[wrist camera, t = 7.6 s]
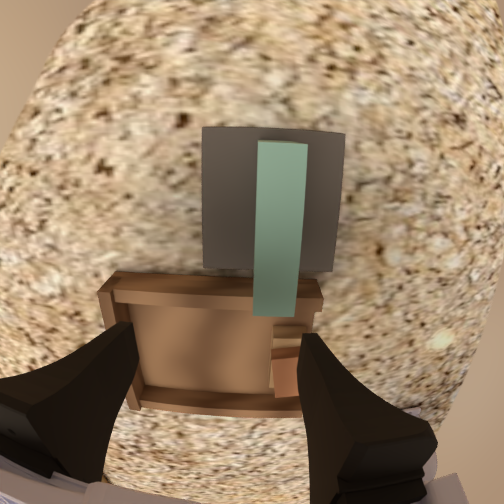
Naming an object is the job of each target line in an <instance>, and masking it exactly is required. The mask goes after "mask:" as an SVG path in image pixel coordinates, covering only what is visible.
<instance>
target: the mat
mask: <svg viewBox="0 0 504 504" xmlns="http://www.w3.org/2000/svg"><path fill="white" fill-rule="evenodd" d="M258 140H276V141H292V142H297V143H303V144H308V151H307V170H306V186H305V201H304V215H303V228H302V241H301V253H300V264H299V271H314V272H332V269H333V261H334V254H335V246H336V238H337V229H338V220H339V210H340V200H341V189H342V177H343V164H344V149H345V134H341V133H332V132H321V131H310V130H296V129H279V128H254V127H202V236H203V268H216V269H245V270H254V247H255V215H256V183H257V150H258Z"/></svg>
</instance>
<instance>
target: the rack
mask: <svg viewBox="0 0 504 504" xmlns="http://www.w3.org/2000/svg"><path fill="white" fill-rule="evenodd" d="M253 282H254V278H247V277H219V276H194V275H173V274H152V273H134V272H116V271H115V272H114V274H113V275H112V276H111V277H110V278H109V279H108V280H107V281H106V282H105V283H104V285H103V286H102V287H101V288H100V289H99V290H98V291H97V293H98V298H99V303H100V307H101V312H102V316H103V320H104V325H105V329H106V330H107V329H109V328H110V327H112V326H113V325H114V324H116V323H118V322H119V321H125V322H133V327H134V332H135V337H136V342H137V347H138V352H139V357H140V360H139V363H138V367H137V370H136V373H135V377H134V379H133V381H132V384H131V386H130V388H129V390H128V393H127V395H126V400H127V403H128V406H129V409H131V410H137V411H140V410H141V407H144V408H150V409H157V410H164V411H172V412H181V413H190V414H200V415H212V416H227V417H250V418H301V417H302V408H301V403H300V398H299V396H291V397H280V398H275V390H274V388H269V363H270V351H271V338H272V326H306V329H307V333H311V332H312V326H313V319H314V312H322V306H323V300H324V298H323V295H322V293H321V290H320V287H319V285H318V282H317V279H298V285H297V295H296V304H295V313H294V317H267V316H253Z"/></svg>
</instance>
